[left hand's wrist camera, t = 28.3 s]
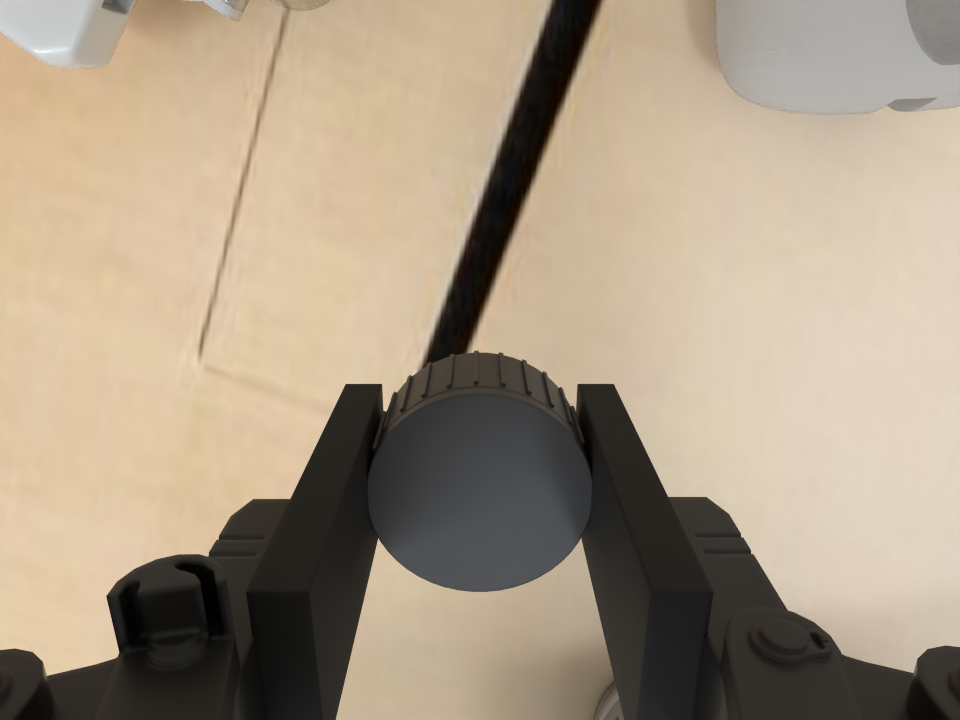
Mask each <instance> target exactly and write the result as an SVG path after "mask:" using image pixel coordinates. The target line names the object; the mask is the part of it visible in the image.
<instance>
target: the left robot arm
mask: <svg viewBox="0 0 960 720" xmlns="http://www.w3.org/2000/svg"><path fill="white" fill-rule="evenodd" d="M382 414H383V396H382V384H346V385H345V387H344V389H343V391H342V393H341V395H340V397H339V399H338V401H337V404H336V406H335V408H334V410H333V412H332V414H331V416H330V418H329V420H328V422H327V424H326V426H325V428H324V431H323V433H322V435H321V437H320V439H319V441H318V443H317V445H316V447H315V449H314V451H313V453H312V455H311V458H310V460H309V462H308V464H307V466H306V468H305V470H304V472H303V474H302V476H301V478H300V480H299V482H298V485H297V487H296V489H295V491H294V493H293V495H292V497H291V499H253V500H252V501H250V502H249V503H248V504H246V505H245V506H244V507H243V508H241V509H240V510H239V511H237V512H236V513H235V514H233V515H232V516H231V517H230V519H229V520H228V522H227V524H226V525H225V527H224V529H223V530H222V532H221V534H220V535H219V540H216V542H215V543H214V545H213V547H212V548H211V550H210V552H209V557H206V556H203V555H199V554H190V555H174V556H170V557H165V558H161V559H156V560H154V561H152V562H149V563H147V564H145V565H143V566H140V567H138V568H136V569H134V570H133V571H131V572H130V573H128V574H127V575H126V576H124V577H123V578H122V579H120V580H119V581H117V583H116V584H115V585H114V587H113V588H112V589H111V591H110V592H109V593H108V595H107V596H106V597H107V601H108V605H109V609H110V614H111V618H112V622H113V627H114V631H115V635H116V639H117V644H118V648H119V655H118V657H117V658H115V659H112V660H109V661H106V662H103V663H99V664H96V665H92V666H88V667H83V668H79V669H75V670H71V671H66V672H62V673H58V674H54V675H49V676H47V675H46V672H45V668H44V665H43V662H42V661H41V660H40V659H39V658H38V657H37V656H36V655H35V654H34V653H33V652H29V651H24V650H19V649H7V650H0V720H336V716H337V711H338V707H339V703H340V698H341V694H342V690H343V686H344V681H345V677H346V673H347V669H348V664H349V660H350V656H351V652H352V647H353V643H354V639H355V635H356V630H357V626H358V622H359V618H360V613H361V609H362V605H363V601H364V596H365V592H366V588H367V583H368V579H369V575H370V571H371V566H372V562H373V558H374V554H375V549H376V545H377V541H378V536H377V534H376V532H375V531H374V529H373V526H372V523H371V520H370V517H369V503H368V488H367V475H368V471H369V467H370V463H371V460H372V457H373V453H374V452H373V451H371V449H372V446H373V443H374V440H375V436H376V433H377V430H378V427H379V424H380V420H381V417H382ZM576 414H577V418H578V421H579V424H580V427H581V430H582V433H583V437H584V440H585V443H586V445H585V446H584V449H585V452H586V455H587V459H588V461H589V465H590V469H591V473H592V495H591V510H590V519H589V522H588V524H587V527H586V530H585V531H584V533H583V535H582V537H581V538H582V543H583V547H584V551H585V556H586V560H587V564H588V568H589V573H590V577H591V581H592V585H593V590H594V594H595V598H596V602H597V607H598V611H599V615H600V619H601V624H602V628H603V632H604V636H605V641H606V645H607V649H608V654H609V658H610V662H611V666H612V671H613V675H614V679H615V682H614V683H613V684H612V685H611V686H610V687H609V688H608V690H607V691H606V693H605V694H604V695H603V697H602V699H601V701H600V702H599V705H598V707H597V710H596V713H595V716H594V720H960V647H953V646H941V647H936V648H931V649H927V650H926V651H925V652H924V653H923V654H922V655H921V656H920V657H919V658H918V659H917V663H916V666H915V670H914V673H910V672H906V671H901V670H897V669H893V668H889V667H884V666H880V665H876V664H871V663H867V662H863V661H860V660H857V659H853V658H850V657H847V656H844V655H842V654H841V651H840V650H839V648H838V647H837V645H836V644H835V642H834V641H833V639H832V638H831V636H830V635H829V634H827V633H826V632H825V631H824V630H823V629H821V628H820V627H819V626H818V625H817V624H815V623H814V622H812V621H810V620H808V619H806V618H804V617H802V616H800V615H798V614H796V613H794V612H791V611H788V610H787V609H786V607H785V605H784V604H783V602H782V600H781V599H780V597H779V595H778V594H777V592H776V591H775V589H774V587H773V586H772V584H771V582H770V581H769V579H768V577H767V576H766V574H765V572H764V571H763V569H762V568H761V566H760V564H759V563H758V561H757V559H756V558H755V556H754V554H751V550H750V548H749V546H748V545H747V543H746V541H745V540H744V538H741V533H740V532H739V530H738V528H737V527H736V525H735V523H734V522H733V520H732V518H731V517H730V515H729V514H728V513H727V512H725V511H724V510H723V509H721V508H720V507H719V506H718V505H716V504H715V503H714V502H712V501H711V500H710V499H708V498H707V497H668V496H667V494H666V492H665V490H664V488H663V486H662V483H661V481H660V479H659V477H658V475H657V473H656V471H655V469H654V467H653V465H652V463H651V461H650V459H649V456H648V454H647V452H646V450H645V448H644V446H643V444H642V442H641V440H640V438H639V436H638V434H637V432H636V429H635V427H634V425H633V423H632V421H631V419H630V417H629V415H628V413H627V411H626V409H625V407H624V405H623V402H622V400H621V398H620V396H619V394H618V392H617V390H616V388H615V386H614V384H578V388H577V406H576Z"/></svg>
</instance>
